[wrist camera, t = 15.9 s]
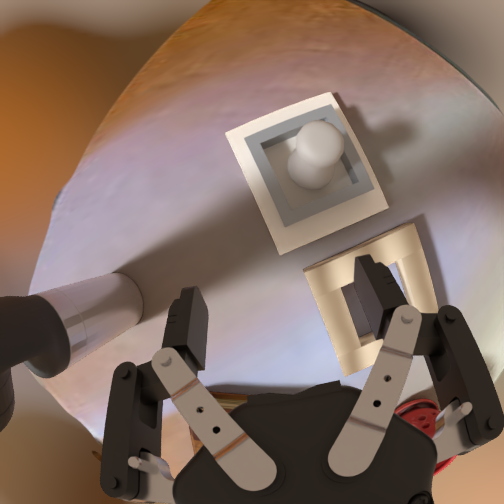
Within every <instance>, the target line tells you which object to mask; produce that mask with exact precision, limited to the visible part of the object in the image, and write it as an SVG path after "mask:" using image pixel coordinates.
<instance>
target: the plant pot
mask: <svg viewBox="0 0 504 504" xmlns="http://www.w3.org/2000/svg"><path fill="white" fill-rule="evenodd" d="M394 413H396V414H397V415H399V416H400V417H402V418H403V419H405V420H406V421H408V422H409V423H411V424H412V425H414V426H415V427H417V428H418V429H420V430H421V431H423V432H424V433H426V434H427V435H428V436H430V437H431V439H433V437H434V435H435V421H436V418H437V416H438V415H439V413H440V411H439V409H438V406H437V404H436V403H435V402H433V401H432V400H429V399H417V400H413V401H410V402H408V403H406V404H404V405H402V406H400V407H399V408H397V409H396V410H395V411H394ZM456 456H457V455H455V456H453V457H451V458H448V459H446V460H444V461H442V462H439V463H437V464H436V468H435V471H434V475H436V474H438V473H439V472H440V471H442V470H443V469H444V468H446V467H447V466H448V465H449V464H450V463H451V462H452V461H453V460H454V459H455V458H456ZM434 475H433V476H434Z"/></svg>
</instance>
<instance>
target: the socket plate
mask: <svg viewBox="0 0 504 504" xmlns="http://www.w3.org/2000/svg"><path fill="white" fill-rule="evenodd" d="M314 120H323V121H326V122H329V123H332V124H333V125H334V126H335V127H336V128H337V129H339V130H340V132H341V134H342V136H343V139H344V149H343V154H342V155H341V157H340V159H339V160H338V161H337V162H336V163H335V171H334V176H333V178H332V179H331V181H330V183H329V184H328V185H326V186H324V187H323V188H321V189H315V190H307V189H305V188H302V187H299V186H298V185H297V184H296V183H295V182H294V181H293V180H292V179H291V177H290V174H289V172H288V169H287V167H288V158H289V157H290V155H291V154H292V152H293V151H294V149H295V148H296V137H297V134H298V133H299V131H300V130H301V128H302V127H303V126H304V125H305V124H307V123H309V122H311V121H314ZM225 134H226V136H227V139H228V141H229V143H230V145H231V147H232V149H233V151H234V154H235V156H236V158H237V160H238V162H239V165H240V167H241V169H242V171H243V173H244V175H245V178H246V180H247V182H248V184H249V187H250V189H251V191H252V193H253V195H254V198H255V200H256V202H257V204H258V207H259V209H260V211H261V213H262V216H263V218H264V220H265V222H266V225H267V227H268V229H269V232H270V234H271V236H272V238H273V241H274V243H275V245H276V248H277V250H278V252H279V255H282V254H285V253H287V252H289V251H292V250H294V249H296V248H299V247H301V246H303V245H306V244H308V243H310V242H312V241H315V240H317V239H319V238H322V237H324V236H326V235H329V234H331V233H333V232H335V231H338V230H340V229H342V228H345V227H347V226H349V225H351V224H354V223H356V222H358V221H360V220H363V219H365V218H367V217H369V216H372V215H374V214H376V213H378V212H381V211H383V210H385V209H387V208H389V207H388V204H387V202H386V199H385V197H384V195H383V192H382V190H381V188H380V185H379V183H378V181H377V179H376V176H375V174H374V172H373V170H372V168H371V166H370V164H369V161H368V159H367V157H366V155H365V153H364V151H363V149H362V147H361V145H360V143H359V141H358V140H357V138H356V136H355V134H354V132H353V130H352V128H351V126H350V125H349V123H348V121H347V119H346V117H345V116H344V114H343V112H342V110H341V109H340V107H339V105H338V104H337V102H336V100H335V99H334V97H333V95H332V94H331V92H328V93H324V94H321V95H318V96H315V97H313V98H310V99H307V100H304V101H301V102H298V103H296V104H293V105H290V106H288V107H285V108H282V109H280V110H277V111H275V112H272V113H270V114H267V115H265V116H263V117H260V118H258V119H255V120H253V121H251V122H248V123H246V124H244V125H242V126H239V127H237V128H235V129H233V130H231V131H229V132H226V133H225Z"/></svg>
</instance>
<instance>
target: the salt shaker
mask: <svg viewBox="0 0 504 504" xmlns="http://www.w3.org/2000/svg"><path fill="white" fill-rule="evenodd" d="M343 149H344V139H343V136H342V134H341V132H340V130H339V129H337V128H336V127H335V126H334V125H333V124H332V123H329V122H326V121H323V120H314V121H311V122H309V123H307V124H305V125H304V126H303V127H302V128H301V130H300V131H299V133H298V134H297V137H296V148H295V149H294V151H293V152H292V154H291V155H290V157H289V158H288V167H287V169H288V172H289V174H290V177H291V179H292V180H293V181H294V182H295V183H296V184H297V185H298V186H299V187H302V188H305V189H307V190H315V189H321V188H323V187H324V186H326V185H328V184H329V183H330V181H331V179H332V178H333V176H334V171H335V163H336V162H337V161H338V160H339V159H340V157H341V155H342V154H343Z"/></svg>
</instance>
